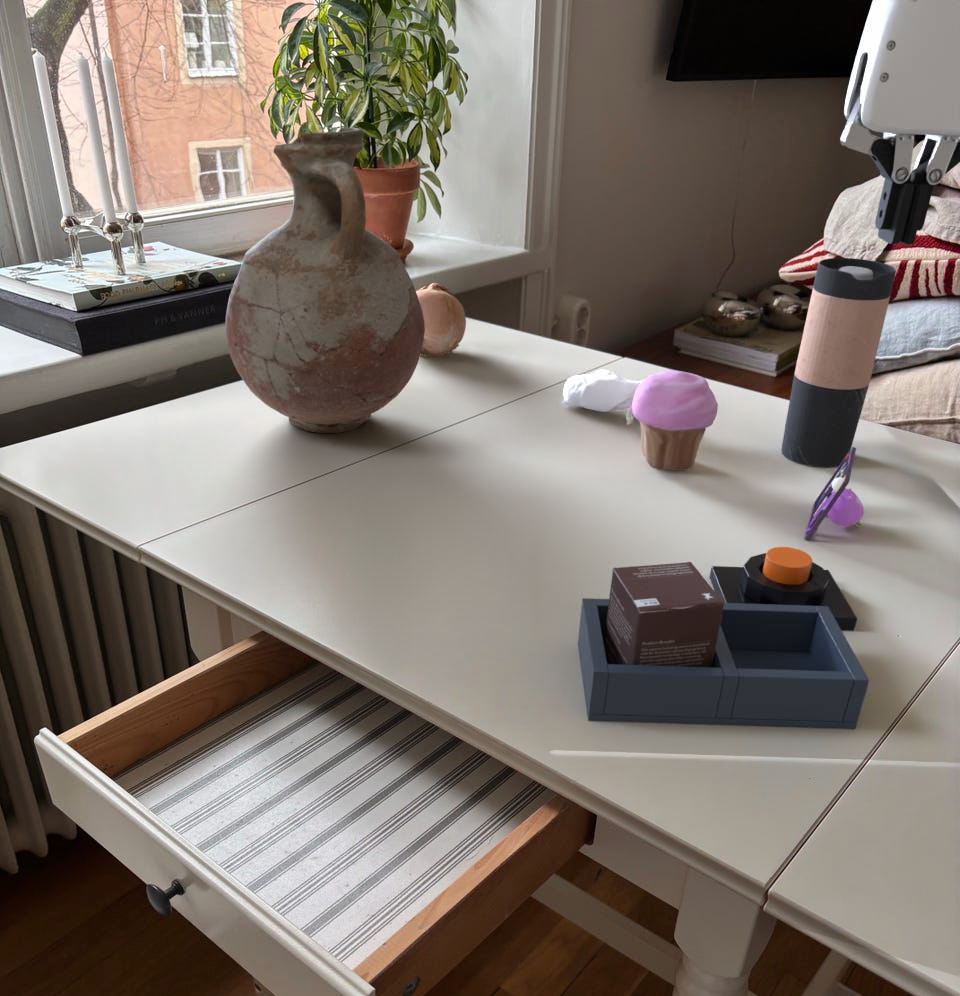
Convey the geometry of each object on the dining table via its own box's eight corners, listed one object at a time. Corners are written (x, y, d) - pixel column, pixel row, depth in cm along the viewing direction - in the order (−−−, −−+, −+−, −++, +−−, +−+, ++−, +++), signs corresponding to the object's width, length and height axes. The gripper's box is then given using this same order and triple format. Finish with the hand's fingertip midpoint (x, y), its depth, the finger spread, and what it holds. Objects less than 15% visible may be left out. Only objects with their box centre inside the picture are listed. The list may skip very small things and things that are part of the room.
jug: (348, 377, 127) (337, 113, 110) (465, 423, 114) (471, 132, 98) (199, 415, 114) (161, 122, 97) (312, 472, 101) (291, 146, 85)
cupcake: (716, 481, 102) (732, 386, 97) (633, 480, 102) (645, 385, 96) (696, 448, 110) (710, 359, 104) (618, 448, 109) (628, 358, 104)
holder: (816, 652, 75) (828, 605, 73) (855, 729, 67) (870, 680, 65) (577, 644, 75) (582, 597, 73) (588, 721, 67) (593, 671, 65)
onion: (433, 366, 141) (443, 294, 140) (474, 364, 134) (485, 289, 133) (378, 351, 135) (388, 276, 134) (418, 348, 128) (429, 269, 127)
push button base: (825, 581, 85) (833, 550, 83) (854, 631, 78) (863, 598, 76) (709, 578, 85) (714, 546, 83) (727, 627, 78) (734, 594, 76)
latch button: (801, 566, 81) (805, 547, 81) (813, 587, 78) (818, 568, 77) (757, 564, 81) (761, 545, 80) (768, 586, 78) (772, 566, 77)
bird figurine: (642, 422, 120) (572, 387, 123) (657, 375, 115) (584, 339, 117) (623, 441, 117) (552, 405, 120) (638, 393, 112) (563, 356, 114)
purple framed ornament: (845, 442, 94) (837, 476, 87) (895, 468, 94) (891, 504, 87) (807, 498, 98) (796, 536, 91) (854, 524, 98) (847, 563, 91)
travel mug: (805, 437, 114) (845, 254, 103) (863, 458, 109) (912, 268, 98) (764, 451, 110) (801, 262, 99) (823, 474, 105) (870, 278, 94)
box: (678, 647, 74) (693, 560, 70) (709, 694, 69) (727, 603, 65) (600, 654, 73) (610, 566, 69) (626, 702, 68) (639, 610, 64)
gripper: (1057, -58, 66) (974, 234, 76) (834, -66, 66) (780, 227, 76) (1117, -65, 60) (1018, 255, 70) (871, -74, 60) (807, 248, 69)
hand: (895, 240), depth 73 cm, fingers closed
